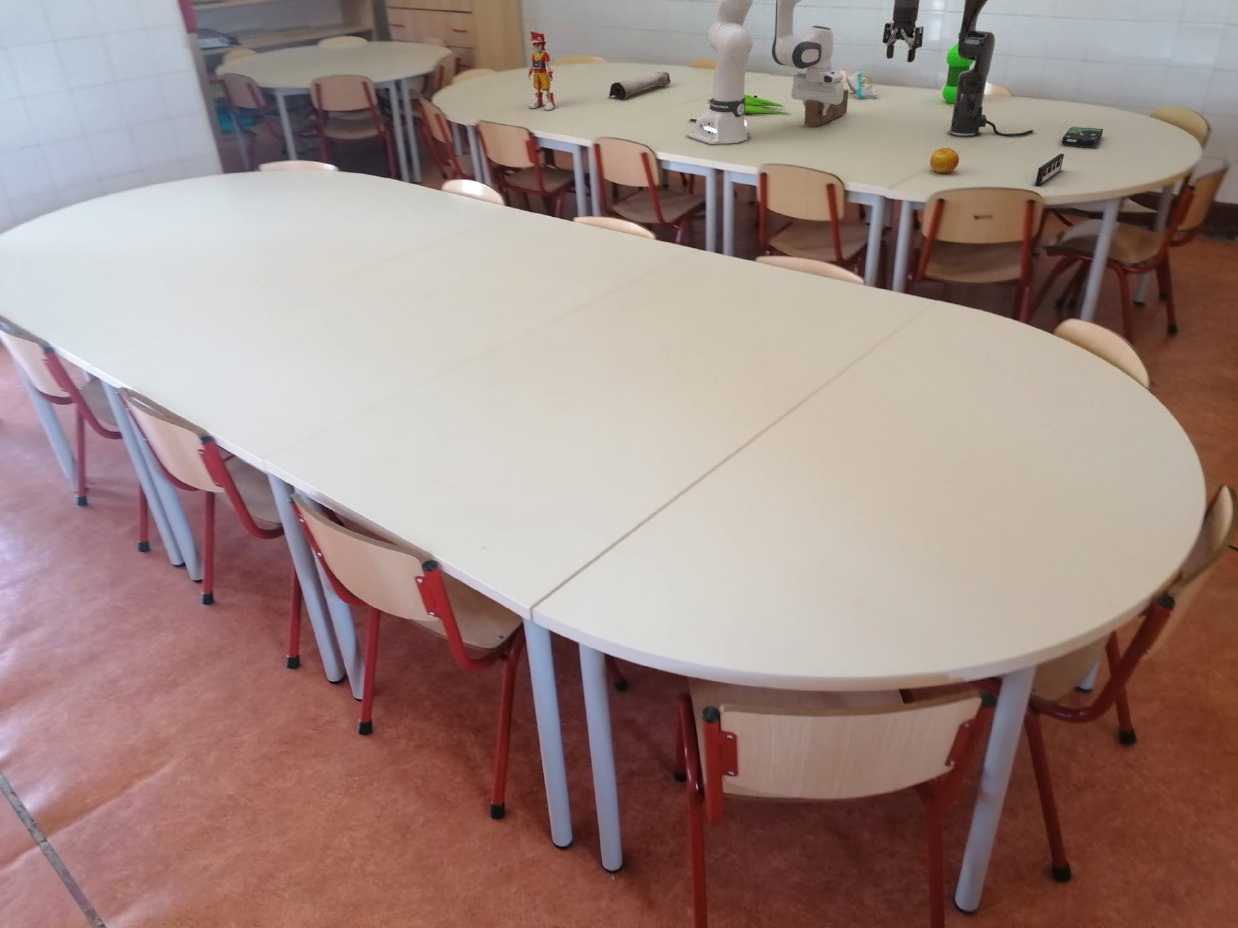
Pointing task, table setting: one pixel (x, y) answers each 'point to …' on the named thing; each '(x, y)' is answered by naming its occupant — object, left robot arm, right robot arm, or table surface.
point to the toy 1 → (541, 71)
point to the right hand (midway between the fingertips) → (899, 60)
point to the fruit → (944, 160)
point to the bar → (832, 112)
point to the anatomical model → (860, 86)
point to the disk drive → (1082, 136)
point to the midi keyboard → (1049, 169)
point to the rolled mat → (638, 84)
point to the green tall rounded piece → (954, 73)
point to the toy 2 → (754, 105)
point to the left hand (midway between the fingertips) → (815, 114)
